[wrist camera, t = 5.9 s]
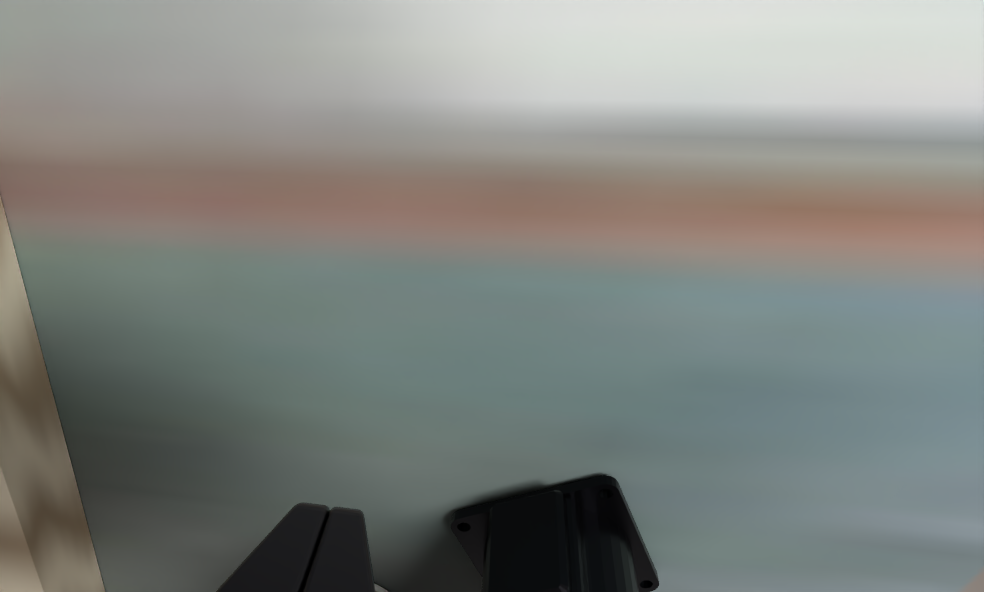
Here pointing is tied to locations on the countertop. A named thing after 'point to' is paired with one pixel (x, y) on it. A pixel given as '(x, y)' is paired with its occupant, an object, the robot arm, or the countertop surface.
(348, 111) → the countertop surface
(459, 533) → the robot arm
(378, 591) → the coffee cup
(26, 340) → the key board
